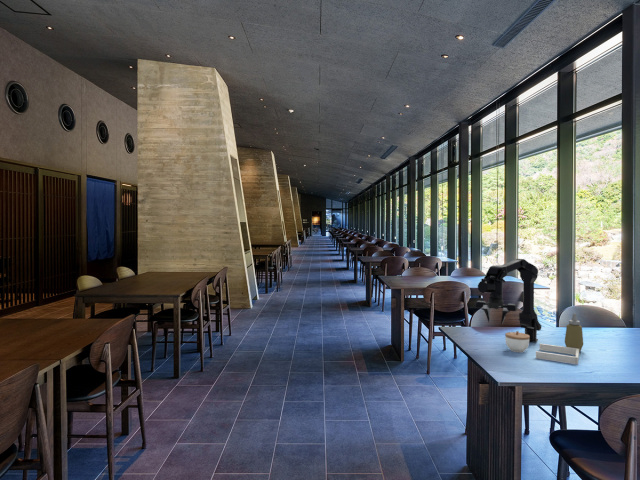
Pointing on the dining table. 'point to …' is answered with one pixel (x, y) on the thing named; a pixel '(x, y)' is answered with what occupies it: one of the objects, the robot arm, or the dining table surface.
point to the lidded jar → (517, 341)
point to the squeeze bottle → (574, 334)
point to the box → (557, 356)
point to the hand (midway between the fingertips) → (495, 323)
